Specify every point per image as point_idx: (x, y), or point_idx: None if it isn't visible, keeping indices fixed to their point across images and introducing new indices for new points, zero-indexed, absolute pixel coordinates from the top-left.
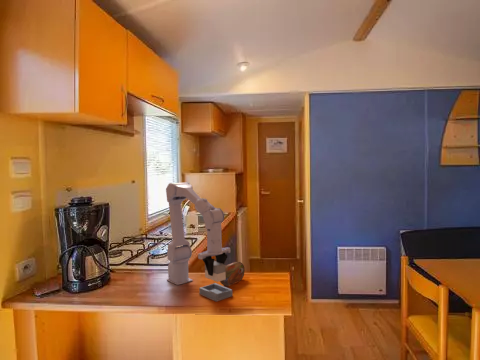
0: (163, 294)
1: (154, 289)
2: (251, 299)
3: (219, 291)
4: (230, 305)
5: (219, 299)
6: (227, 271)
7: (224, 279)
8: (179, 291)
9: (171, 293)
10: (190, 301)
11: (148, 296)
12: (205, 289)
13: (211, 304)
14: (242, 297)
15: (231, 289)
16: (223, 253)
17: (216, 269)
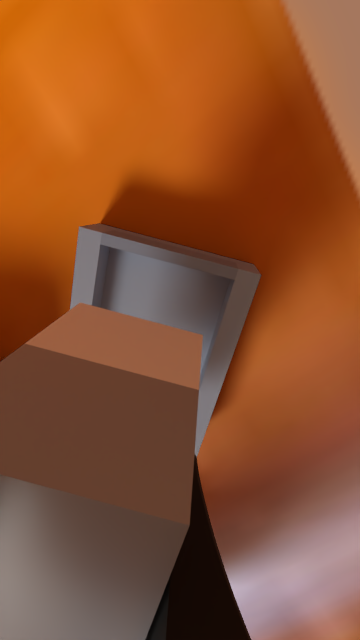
0: (296, 565)
1: (259, 619)
2: (58, 12)
3: None
4: (269, 107)
5: (225, 257)
6: None
7: (95, 309)
8: (221, 529)
9: (265, 545)
10: (325, 410)
11: (350, 600)
12: (199, 413)
13: (315, 263)
14: (73, 128)
15: (80, 237)
16: None
17: (190, 467)
